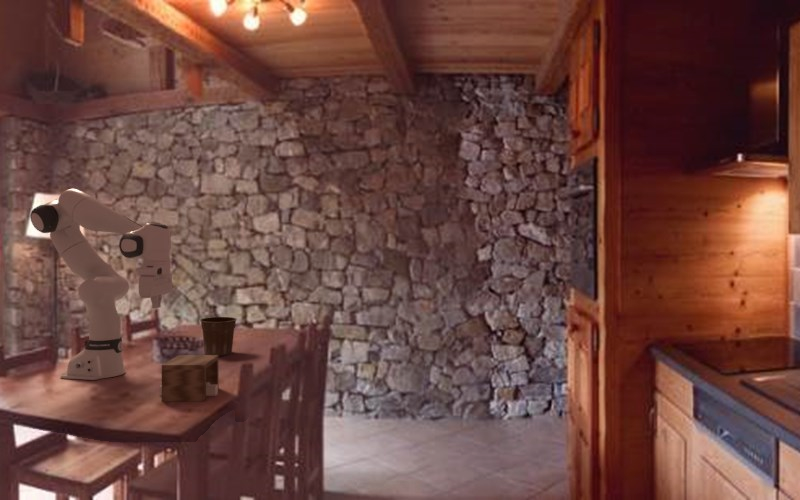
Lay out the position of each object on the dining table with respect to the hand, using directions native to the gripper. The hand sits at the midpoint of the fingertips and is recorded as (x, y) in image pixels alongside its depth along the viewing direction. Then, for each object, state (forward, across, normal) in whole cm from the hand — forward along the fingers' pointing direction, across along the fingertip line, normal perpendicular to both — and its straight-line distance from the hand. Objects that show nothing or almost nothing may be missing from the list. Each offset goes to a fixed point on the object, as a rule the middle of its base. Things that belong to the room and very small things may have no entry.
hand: (156, 308), depth 200 cm
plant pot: (+30, -62, +4) cm, 69 cm away
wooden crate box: (+29, +6, +15) cm, 33 cm away
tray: (+29, +6, +14) cm, 33 cm away
